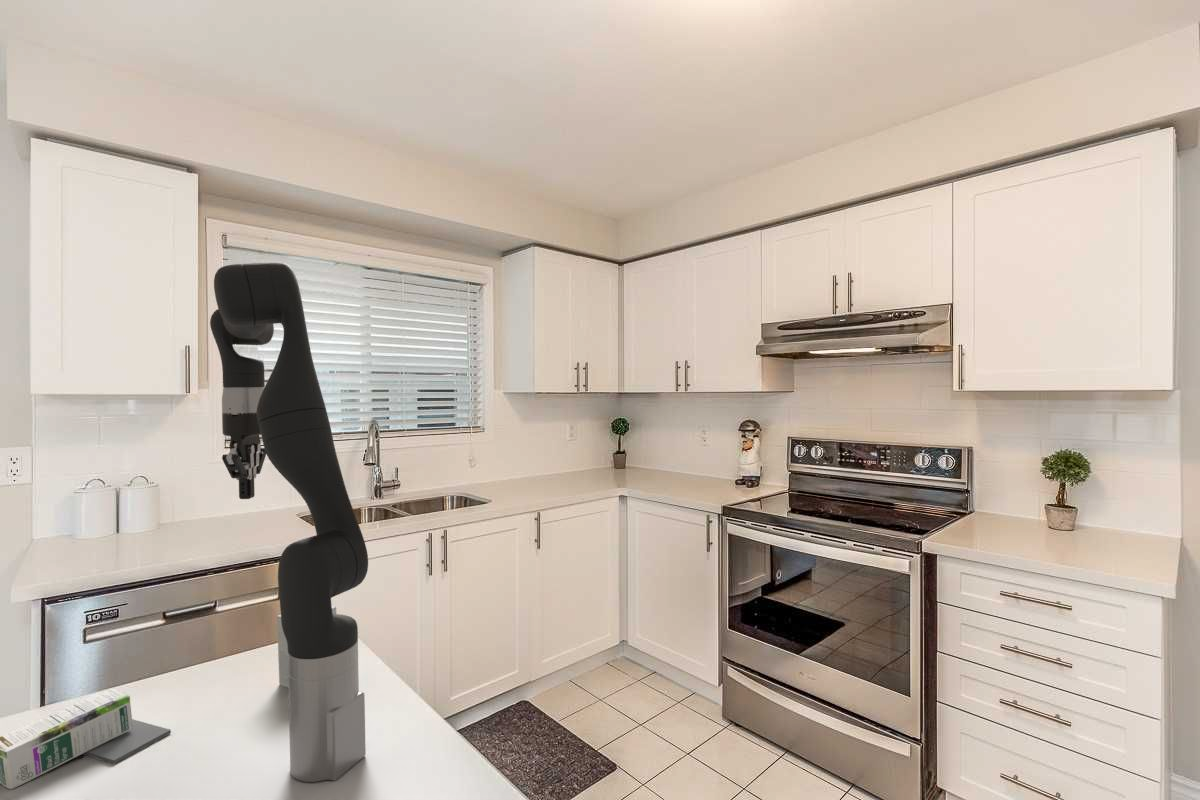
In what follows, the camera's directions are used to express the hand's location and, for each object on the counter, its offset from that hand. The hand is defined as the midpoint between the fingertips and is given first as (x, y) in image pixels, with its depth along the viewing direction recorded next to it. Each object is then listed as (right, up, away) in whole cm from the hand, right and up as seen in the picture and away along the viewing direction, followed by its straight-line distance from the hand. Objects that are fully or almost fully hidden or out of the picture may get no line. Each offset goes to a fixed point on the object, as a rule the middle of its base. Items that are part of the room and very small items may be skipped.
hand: (246, 498), depth 115 cm
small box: (+15, -33, -6) cm, 37 cm away
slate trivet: (-6, -34, -24) cm, 42 cm away
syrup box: (-6, -30, -22) cm, 37 cm away
